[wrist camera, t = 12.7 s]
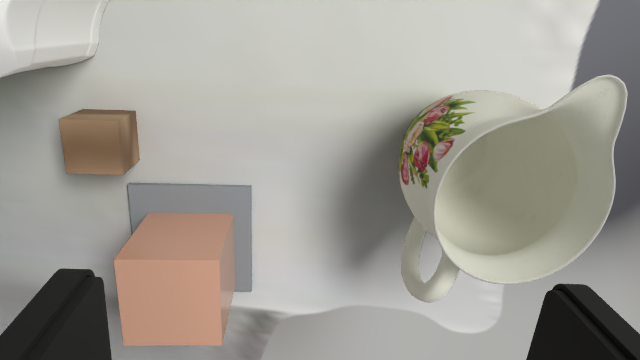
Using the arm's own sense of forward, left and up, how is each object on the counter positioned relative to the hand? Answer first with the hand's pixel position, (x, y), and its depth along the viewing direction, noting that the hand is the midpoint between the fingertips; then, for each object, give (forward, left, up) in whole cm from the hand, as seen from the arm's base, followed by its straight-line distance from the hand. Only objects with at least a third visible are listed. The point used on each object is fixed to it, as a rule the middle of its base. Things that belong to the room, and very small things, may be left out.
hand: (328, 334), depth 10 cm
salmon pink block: (+13, -9, -28) cm, 32 cm away
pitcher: (+4, +12, -29) cm, 31 cm away
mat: (+12, -9, -29) cm, 32 cm away
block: (+3, -15, -29) cm, 32 cm away
